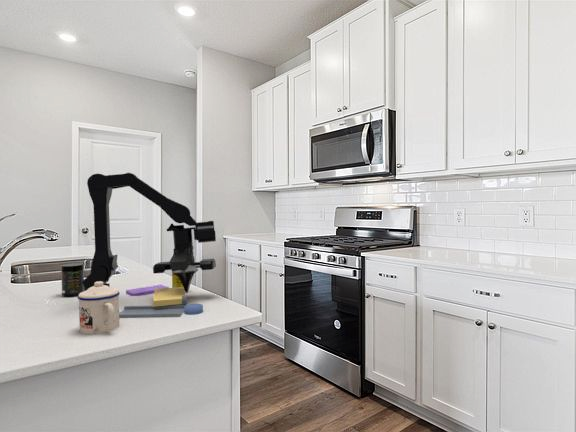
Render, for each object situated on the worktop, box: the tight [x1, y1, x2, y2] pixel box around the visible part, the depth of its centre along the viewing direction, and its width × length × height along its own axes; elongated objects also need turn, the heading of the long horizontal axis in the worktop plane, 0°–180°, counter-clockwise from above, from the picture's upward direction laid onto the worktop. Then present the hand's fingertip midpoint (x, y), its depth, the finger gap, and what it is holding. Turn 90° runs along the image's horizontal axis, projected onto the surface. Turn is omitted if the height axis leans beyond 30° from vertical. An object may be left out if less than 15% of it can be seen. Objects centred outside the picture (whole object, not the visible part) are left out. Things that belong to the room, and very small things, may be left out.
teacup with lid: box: [77, 281, 120, 335], centre depth 90 cm, size 12×9×12 cm
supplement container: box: [60, 262, 85, 298], centre depth 127 cm, size 7×7×10 cm
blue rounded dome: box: [183, 303, 204, 316], centre depth 104 cm, size 5×5×2 cm
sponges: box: [125, 284, 170, 297], centre depth 130 cm, size 7×13×2 cm, turn 132°
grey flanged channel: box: [119, 304, 187, 319], centre depth 103 cm, size 18×9×1 cm, turn 91°
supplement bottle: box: [171, 270, 187, 294], centre depth 130 cm, size 6×6×10 cm
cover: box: [152, 287, 188, 307], centre depth 114 cm, size 17×9×2 cm, turn 18°
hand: (187, 292), depth 120 cm, fingers closed
